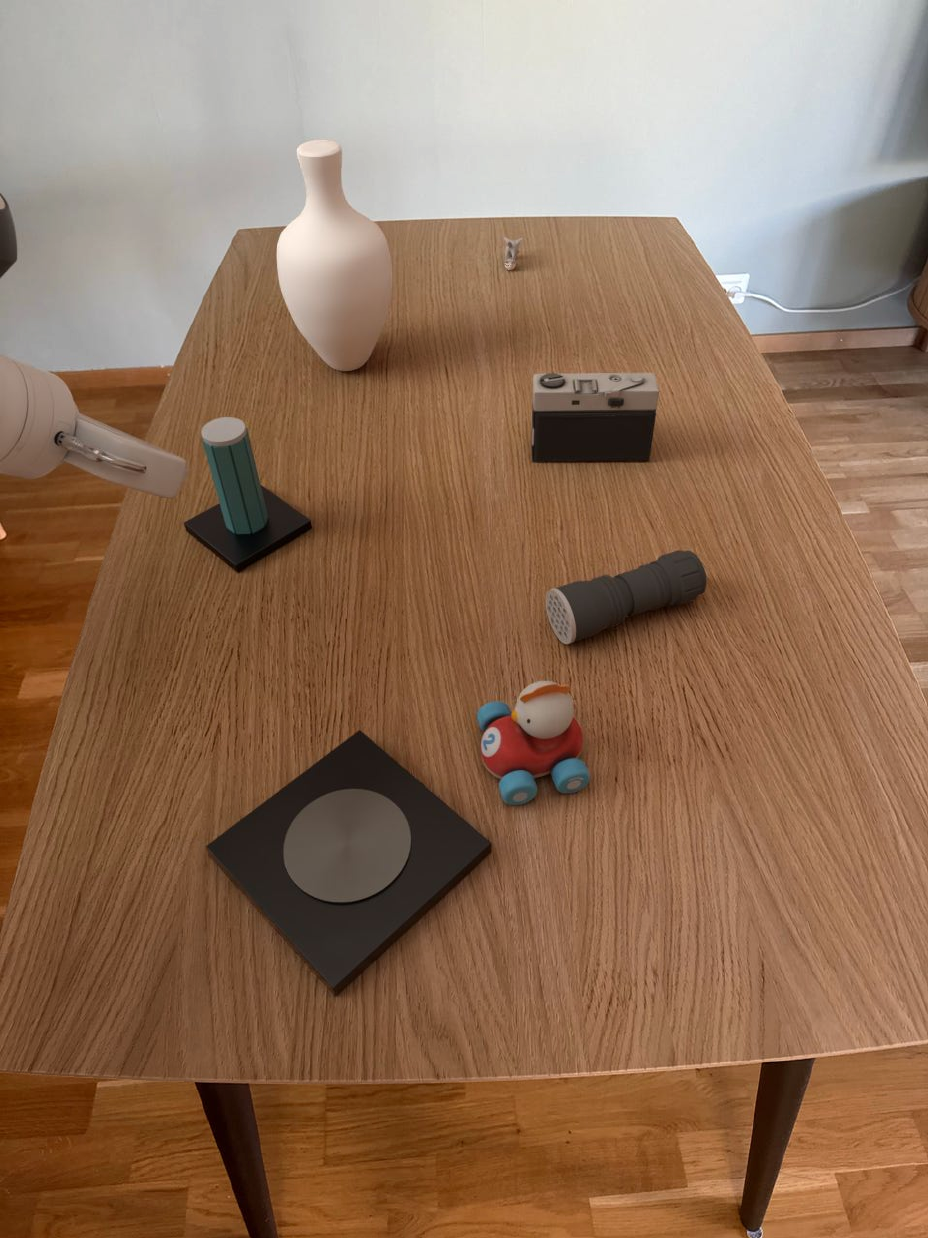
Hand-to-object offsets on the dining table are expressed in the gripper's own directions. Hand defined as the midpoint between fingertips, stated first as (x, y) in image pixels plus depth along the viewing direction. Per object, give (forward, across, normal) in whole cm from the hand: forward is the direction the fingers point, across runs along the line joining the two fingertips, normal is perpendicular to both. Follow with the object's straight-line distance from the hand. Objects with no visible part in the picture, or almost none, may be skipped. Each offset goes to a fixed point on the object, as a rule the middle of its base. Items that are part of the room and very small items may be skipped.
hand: (144, 457), depth 85 cm
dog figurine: (+67, +8, -45) cm, 81 cm away
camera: (+41, -25, -19) cm, 52 cm away
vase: (+41, +12, -19) cm, 47 cm away
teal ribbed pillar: (+16, -1, +3) cm, 17 cm away
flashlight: (+24, -42, -3) cm, 48 cm away
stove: (-1, -35, +22) cm, 42 cm away
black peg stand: (+17, -1, +4) cm, 18 cm away
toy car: (+10, -43, +11) cm, 45 cm away
